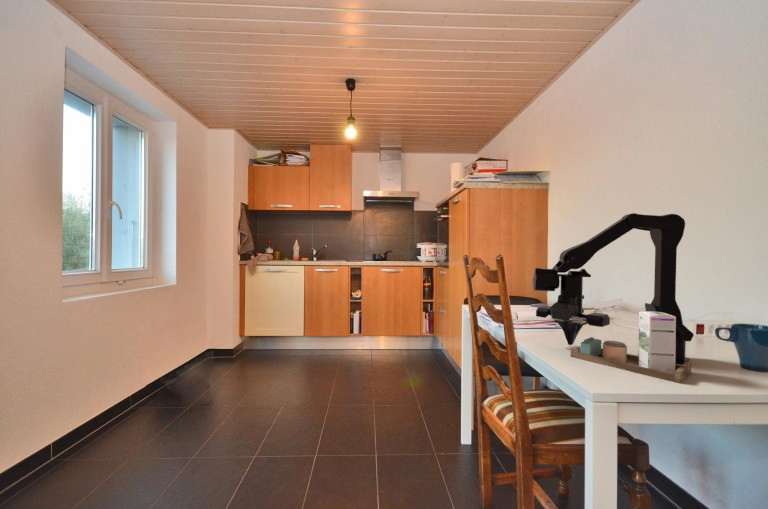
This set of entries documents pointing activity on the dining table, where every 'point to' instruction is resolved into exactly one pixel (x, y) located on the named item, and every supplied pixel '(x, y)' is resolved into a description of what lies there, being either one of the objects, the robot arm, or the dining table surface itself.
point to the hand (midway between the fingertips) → (570, 344)
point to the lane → (678, 377)
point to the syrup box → (657, 341)
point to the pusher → (591, 346)
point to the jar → (615, 351)
